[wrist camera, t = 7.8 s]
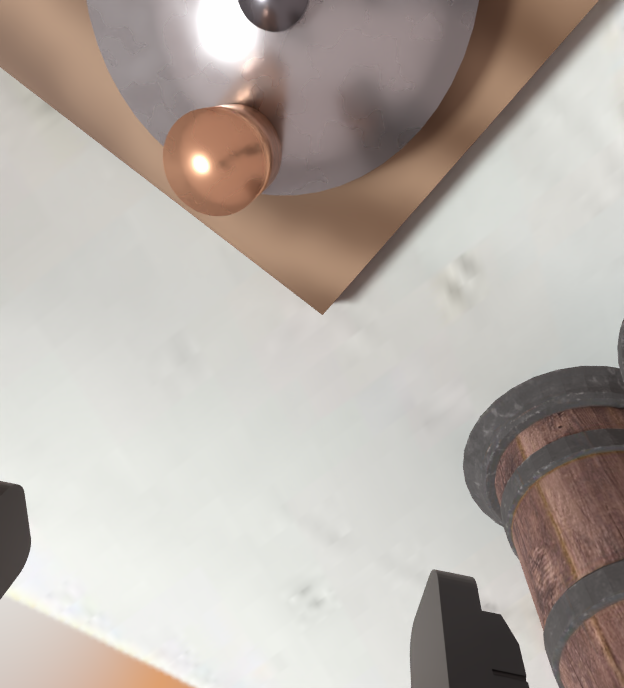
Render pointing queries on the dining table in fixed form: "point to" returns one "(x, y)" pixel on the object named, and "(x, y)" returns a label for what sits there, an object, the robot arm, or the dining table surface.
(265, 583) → the dining table surface
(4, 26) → the dial base
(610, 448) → the tankard
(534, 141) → the dining table surface
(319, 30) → the dial
